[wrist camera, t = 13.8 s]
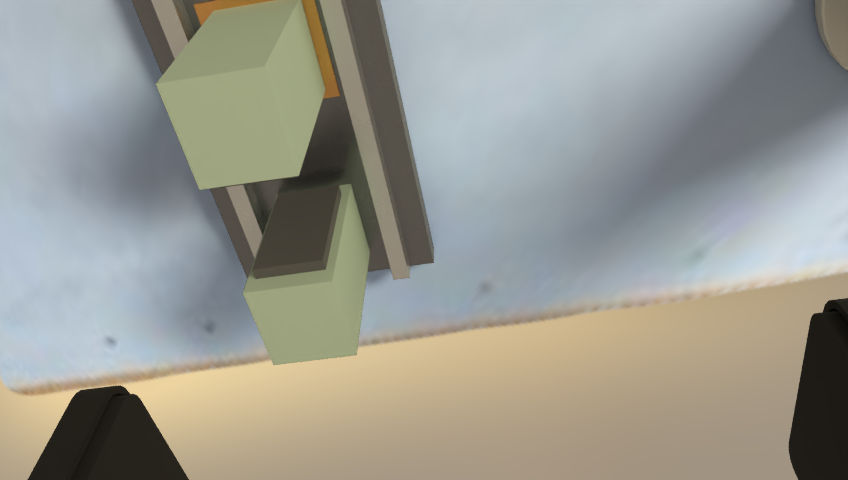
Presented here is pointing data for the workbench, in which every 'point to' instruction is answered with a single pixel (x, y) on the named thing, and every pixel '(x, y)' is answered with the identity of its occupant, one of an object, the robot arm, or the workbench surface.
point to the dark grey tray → (327, 129)
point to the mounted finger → (310, 276)
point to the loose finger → (246, 94)
